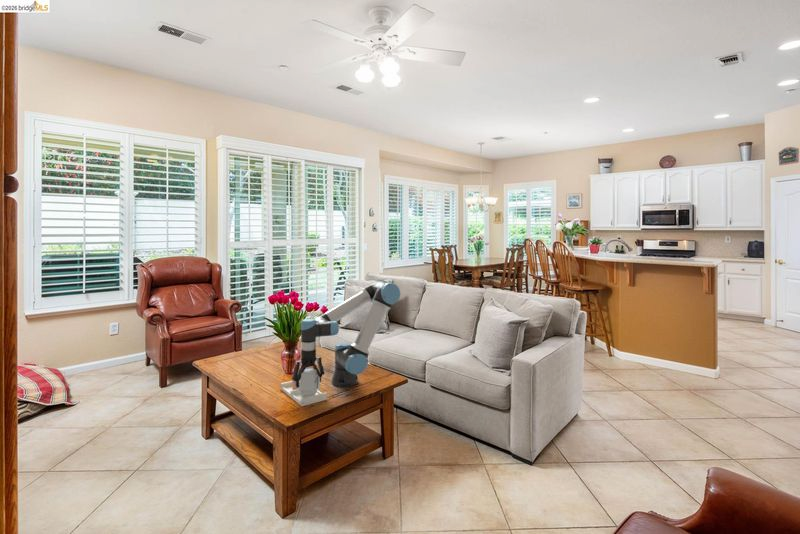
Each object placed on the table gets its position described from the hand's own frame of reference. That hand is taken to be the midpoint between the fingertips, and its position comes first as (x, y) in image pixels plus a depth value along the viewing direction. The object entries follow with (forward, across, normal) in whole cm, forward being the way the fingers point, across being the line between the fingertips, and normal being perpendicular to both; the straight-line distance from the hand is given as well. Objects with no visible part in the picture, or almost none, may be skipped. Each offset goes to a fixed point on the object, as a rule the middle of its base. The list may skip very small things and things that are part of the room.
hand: (308, 390), depth 208 cm
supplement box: (+2, 0, 0) cm, 2 cm away
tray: (+4, 0, -6) cm, 8 cm away
